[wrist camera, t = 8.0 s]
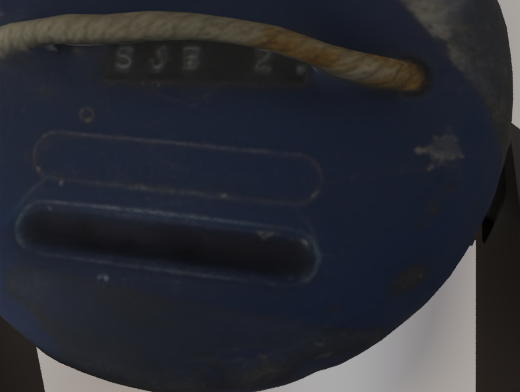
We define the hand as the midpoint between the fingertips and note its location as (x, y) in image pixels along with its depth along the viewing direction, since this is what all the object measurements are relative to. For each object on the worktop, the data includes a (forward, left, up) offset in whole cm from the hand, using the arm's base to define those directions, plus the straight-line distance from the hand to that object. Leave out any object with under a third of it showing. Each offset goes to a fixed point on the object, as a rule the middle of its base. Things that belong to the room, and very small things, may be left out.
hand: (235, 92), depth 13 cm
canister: (+4, -2, -9) cm, 10 cm away
